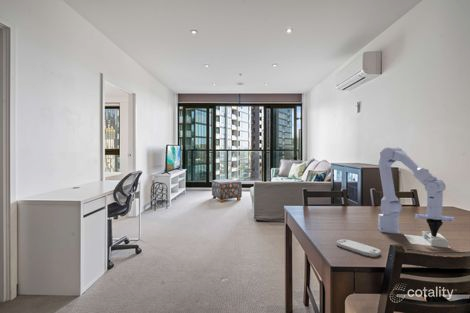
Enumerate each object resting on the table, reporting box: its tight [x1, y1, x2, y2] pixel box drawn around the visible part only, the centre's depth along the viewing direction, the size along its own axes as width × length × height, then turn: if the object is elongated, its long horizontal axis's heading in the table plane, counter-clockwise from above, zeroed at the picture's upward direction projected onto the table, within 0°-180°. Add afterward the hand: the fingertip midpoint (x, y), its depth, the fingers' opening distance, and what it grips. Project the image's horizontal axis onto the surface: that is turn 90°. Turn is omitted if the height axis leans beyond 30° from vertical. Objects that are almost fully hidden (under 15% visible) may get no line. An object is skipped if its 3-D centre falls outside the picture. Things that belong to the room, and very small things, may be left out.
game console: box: [336, 238, 382, 258], centre depth 116 cm, size 18×2×8 cm
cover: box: [425, 232, 448, 241], centre depth 125 cm, size 6×9×1 cm, turn 160°
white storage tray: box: [403, 230, 451, 249], centre depth 127 cm, size 15×14×3 cm
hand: (433, 235), depth 125 cm, fingers closed
